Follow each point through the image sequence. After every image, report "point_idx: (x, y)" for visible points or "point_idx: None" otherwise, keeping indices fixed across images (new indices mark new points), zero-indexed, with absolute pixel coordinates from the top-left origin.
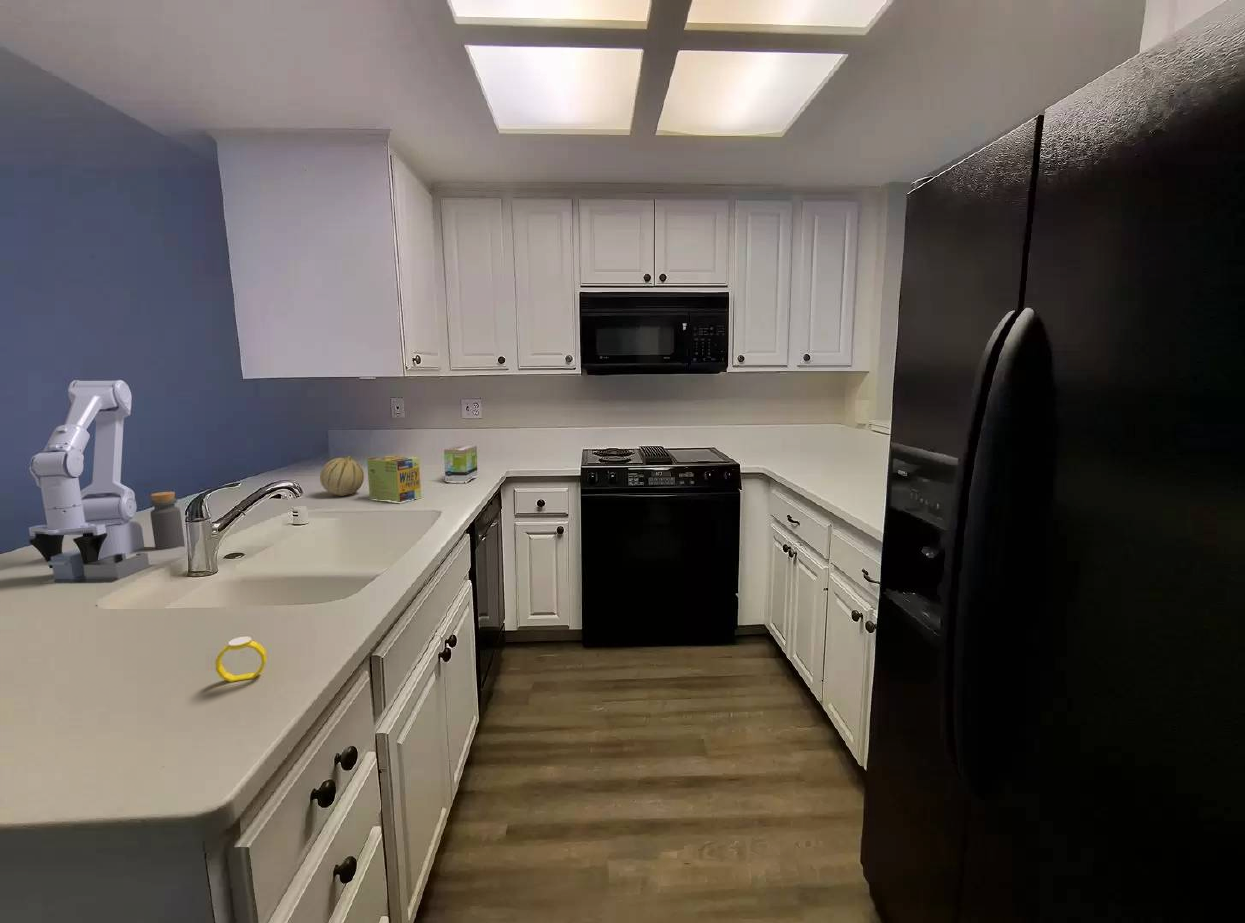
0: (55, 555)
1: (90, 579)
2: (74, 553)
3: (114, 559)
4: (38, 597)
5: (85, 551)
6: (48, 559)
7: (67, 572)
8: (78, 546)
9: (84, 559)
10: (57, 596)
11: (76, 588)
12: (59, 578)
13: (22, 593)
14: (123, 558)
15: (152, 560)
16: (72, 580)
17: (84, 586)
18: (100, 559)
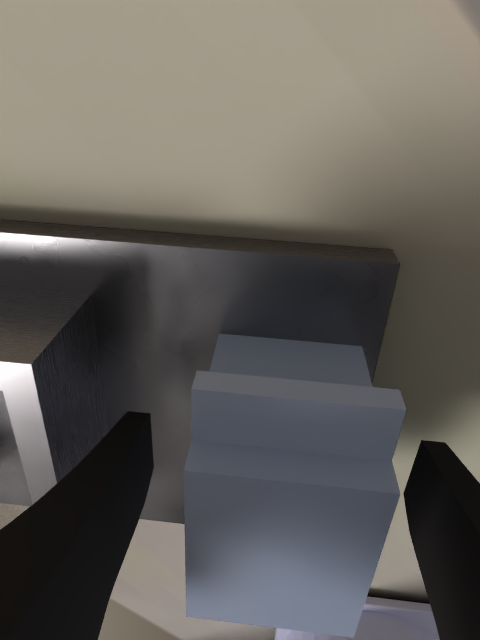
0: (384, 525)
1: (56, 293)
2: (236, 549)
3: None
4: (215, 13)
5: (20, 519)
6: (460, 499)
7: (251, 366)
8: (30, 580)
9: (104, 458)
10: (68, 26)
11: (101, 210)
12: (321, 343)
13: (447, 138)
14: None
15: (122, 582)
16: (188, 298)
17: None
18: (47, 479)
